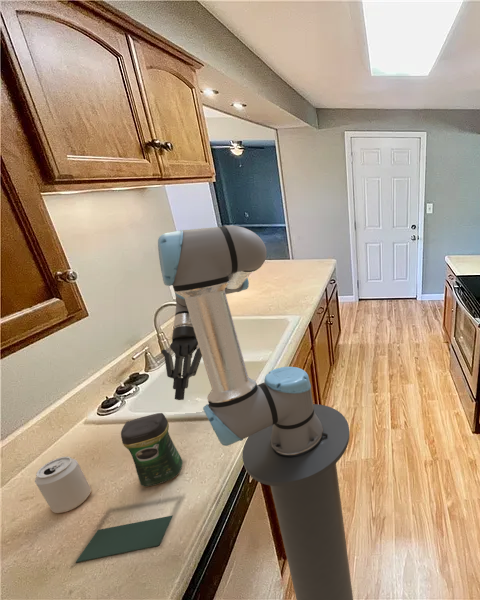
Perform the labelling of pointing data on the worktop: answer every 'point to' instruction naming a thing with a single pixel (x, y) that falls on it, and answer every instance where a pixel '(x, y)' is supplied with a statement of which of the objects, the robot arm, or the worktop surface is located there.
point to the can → (62, 484)
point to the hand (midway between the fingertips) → (179, 399)
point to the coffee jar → (151, 449)
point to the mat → (125, 538)
